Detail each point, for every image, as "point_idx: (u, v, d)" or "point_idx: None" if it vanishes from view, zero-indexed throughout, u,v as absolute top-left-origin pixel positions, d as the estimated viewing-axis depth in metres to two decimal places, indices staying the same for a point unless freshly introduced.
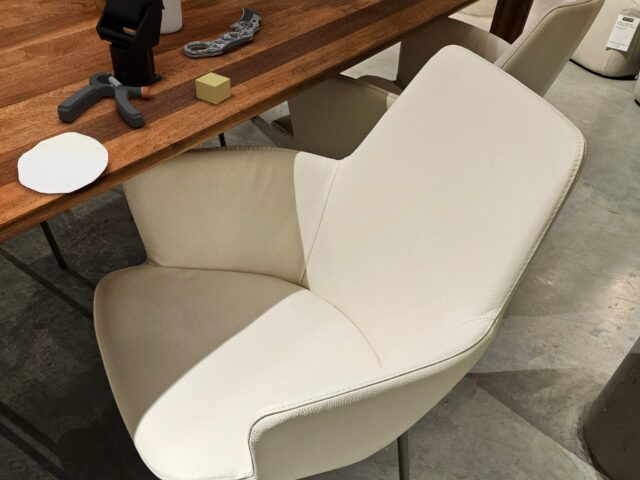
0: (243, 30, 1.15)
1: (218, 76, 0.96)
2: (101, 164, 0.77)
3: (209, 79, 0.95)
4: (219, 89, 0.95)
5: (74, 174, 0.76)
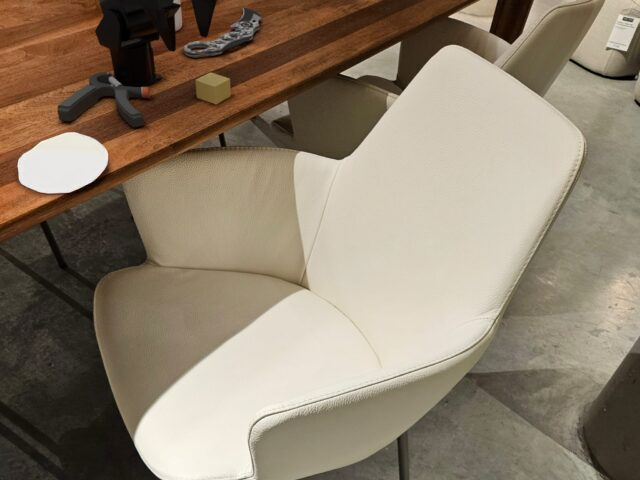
0: (243, 30, 1.15)
1: (218, 76, 0.96)
2: (101, 164, 0.77)
3: (209, 79, 0.95)
4: (219, 89, 0.95)
5: (74, 174, 0.76)
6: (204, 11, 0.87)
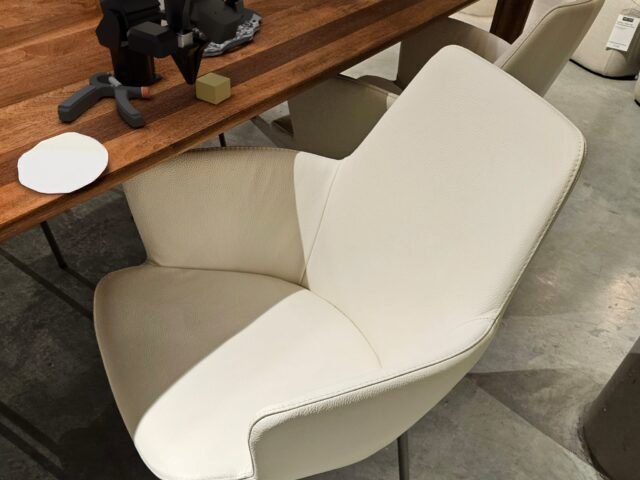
0: (243, 30, 1.15)
1: (218, 76, 0.96)
2: (101, 164, 0.77)
3: (209, 79, 0.95)
4: (219, 89, 0.95)
5: (74, 174, 0.76)
6: None
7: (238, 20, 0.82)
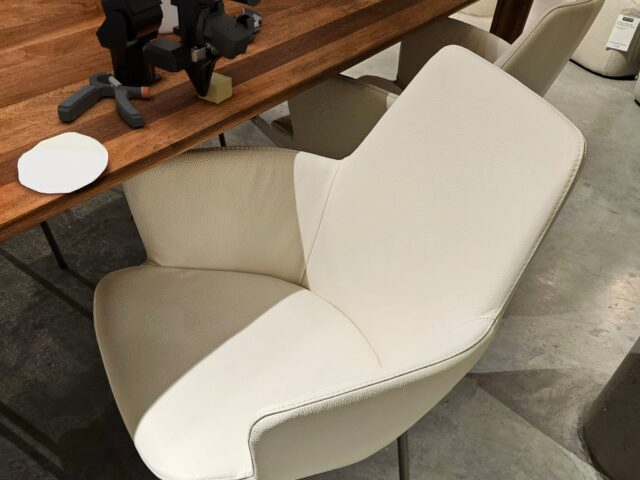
0: None
1: (220, 75, 0.96)
2: (101, 164, 0.77)
3: (211, 79, 0.95)
4: (220, 89, 0.95)
5: (74, 174, 0.76)
6: None
7: (249, 36, 0.85)
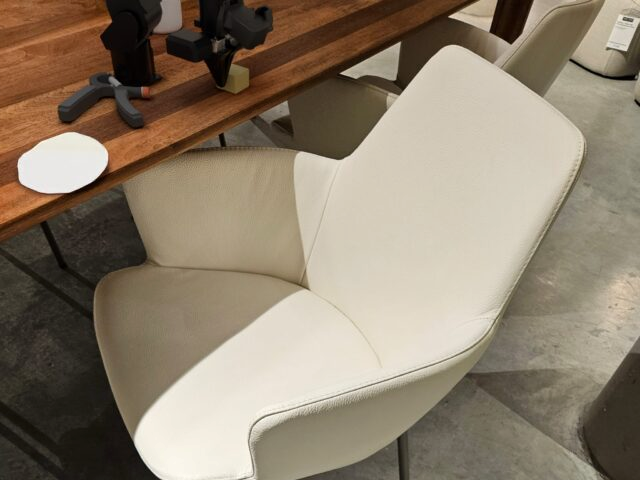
0: None
1: (237, 66, 0.99)
2: (101, 164, 0.77)
3: None
4: (238, 79, 0.98)
5: (74, 174, 0.76)
6: None
7: (268, 27, 0.88)
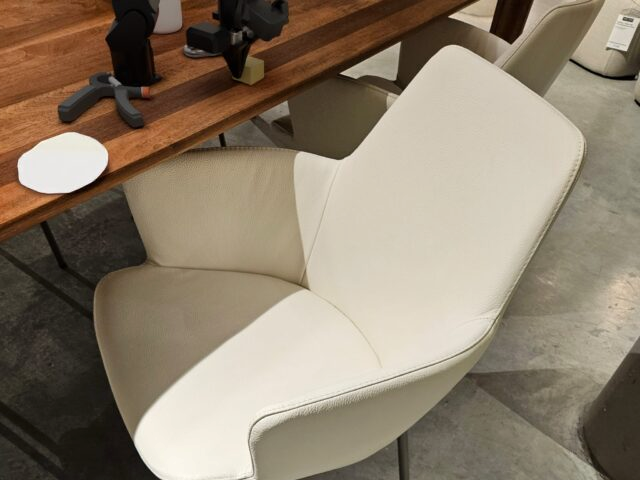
0: None
1: (253, 58, 1.02)
2: (101, 164, 0.77)
3: None
4: (254, 70, 1.01)
5: (74, 174, 0.76)
6: None
7: (284, 19, 0.91)
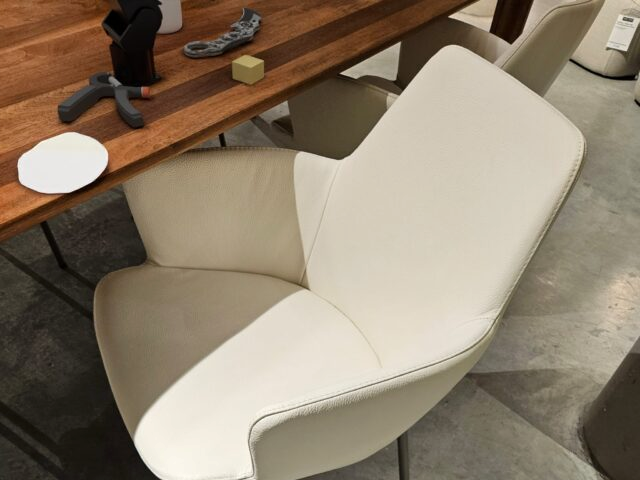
0: (243, 30, 1.15)
1: (253, 58, 1.02)
2: (101, 164, 0.77)
3: (245, 61, 1.01)
4: (254, 70, 1.01)
5: (74, 174, 0.76)
6: None
7: None
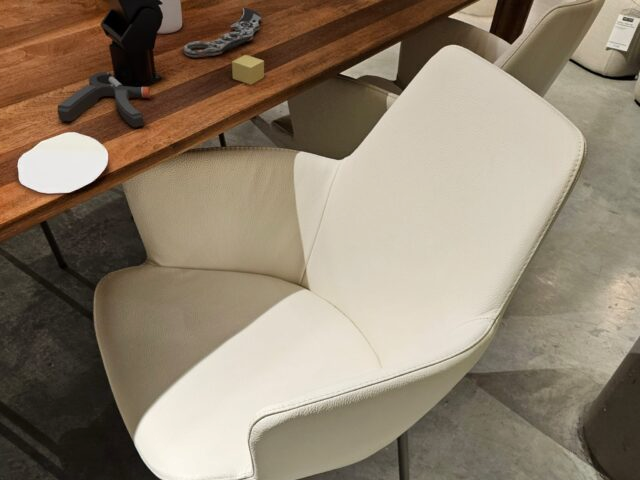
0: (243, 30, 1.15)
1: (253, 58, 1.02)
2: (101, 164, 0.77)
3: (245, 61, 1.01)
4: (254, 70, 1.01)
5: (74, 174, 0.76)
6: None
7: None
